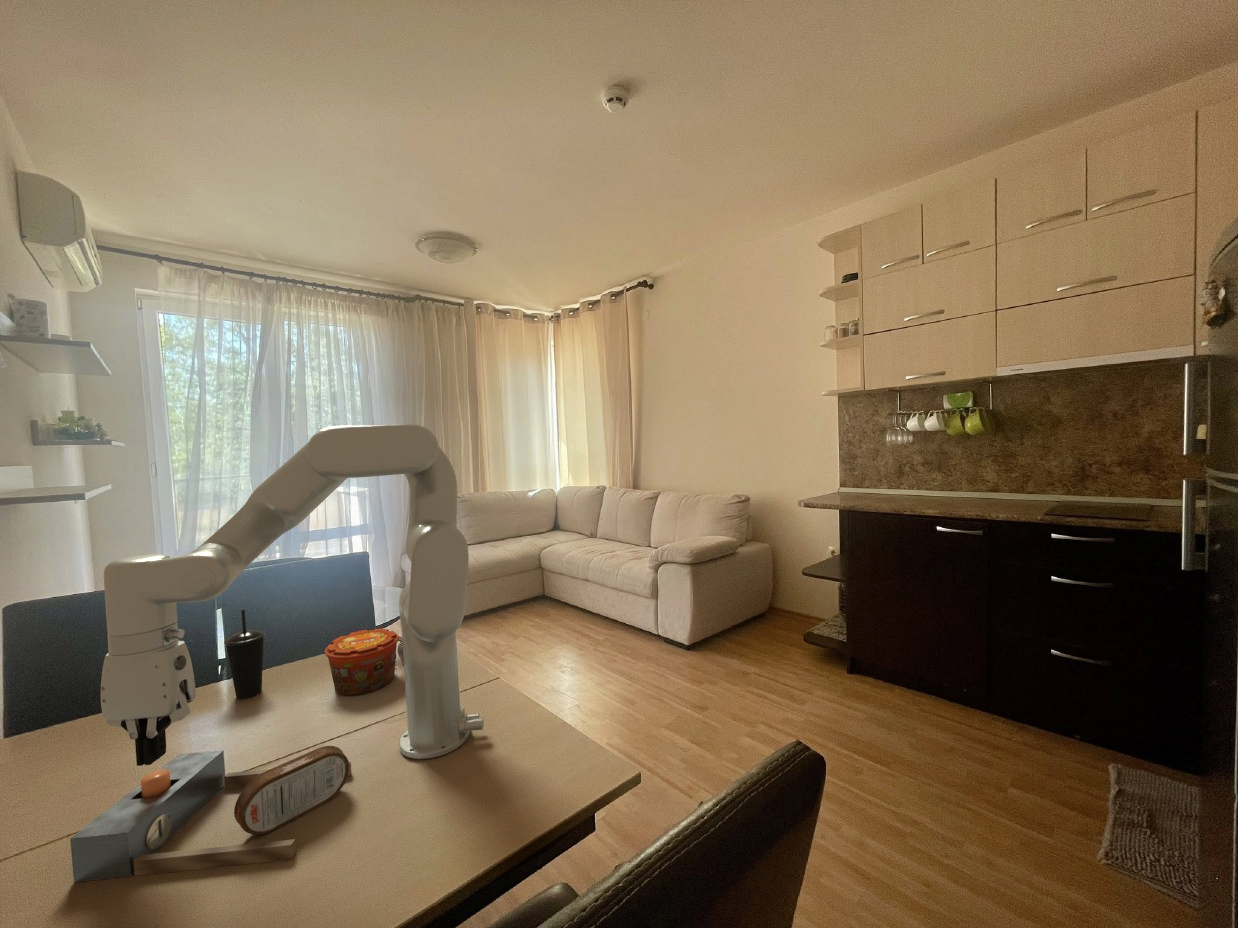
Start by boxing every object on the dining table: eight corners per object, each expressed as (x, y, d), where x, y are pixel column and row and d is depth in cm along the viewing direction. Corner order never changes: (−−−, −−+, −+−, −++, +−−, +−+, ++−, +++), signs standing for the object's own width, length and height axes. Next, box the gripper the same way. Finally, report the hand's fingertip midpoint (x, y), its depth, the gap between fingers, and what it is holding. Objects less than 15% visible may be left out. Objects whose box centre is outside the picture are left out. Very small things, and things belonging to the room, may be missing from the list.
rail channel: (351, 772, 86) (350, 761, 86) (291, 858, 68) (291, 844, 68) (229, 784, 84) (228, 772, 84) (134, 875, 66) (133, 861, 66)
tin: (345, 783, 83) (342, 734, 83) (353, 790, 81) (350, 740, 81) (235, 840, 72) (231, 783, 71) (241, 851, 70) (237, 793, 69)
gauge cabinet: (228, 784, 84) (226, 749, 84) (134, 875, 66) (131, 832, 66) (181, 788, 83) (179, 753, 83) (73, 881, 65) (70, 838, 65)
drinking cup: (236, 689, 119) (231, 607, 118) (273, 683, 121) (268, 603, 120) (222, 704, 112) (215, 617, 111) (261, 698, 114) (255, 612, 113)
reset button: (176, 786, 76) (175, 767, 76) (159, 801, 73) (157, 781, 73) (154, 788, 76) (153, 769, 76) (135, 803, 73) (134, 783, 73)
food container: (336, 707, 108) (333, 659, 108) (320, 683, 120) (317, 640, 120) (411, 682, 119) (408, 638, 119) (389, 662, 131) (386, 622, 130)
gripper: (216, 627, 78) (222, 740, 79) (113, 633, 77) (121, 748, 77) (177, 645, 71) (185, 771, 71) (63, 652, 69) (72, 780, 70)
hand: (151, 759), depth 74 cm, fingers closed
